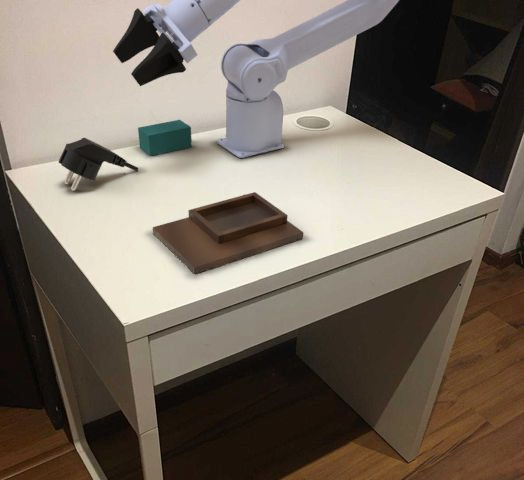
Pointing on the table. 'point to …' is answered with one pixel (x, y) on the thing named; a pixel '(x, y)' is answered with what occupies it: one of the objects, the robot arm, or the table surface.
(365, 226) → the table surface
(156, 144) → the teal rectangular block
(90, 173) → the power plug
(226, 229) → the brown wooden tray
